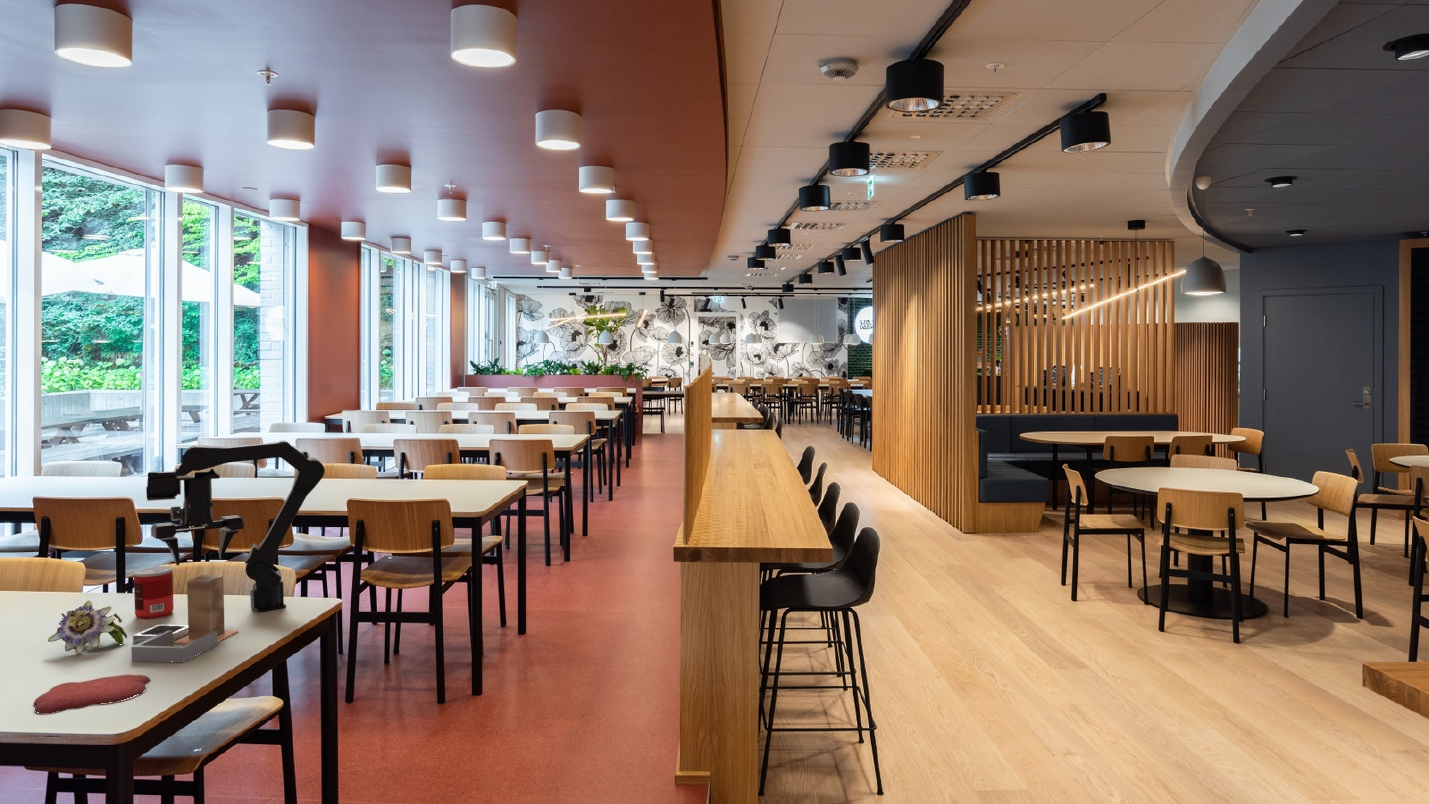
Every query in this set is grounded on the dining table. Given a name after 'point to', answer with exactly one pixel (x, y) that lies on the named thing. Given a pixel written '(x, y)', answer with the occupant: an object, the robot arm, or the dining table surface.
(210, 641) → the channel
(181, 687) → the dining table surface
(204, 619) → the walnut block
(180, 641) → the pad
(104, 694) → the patty
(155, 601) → the canned food
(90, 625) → the passion flower
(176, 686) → the dining table surface
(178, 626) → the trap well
